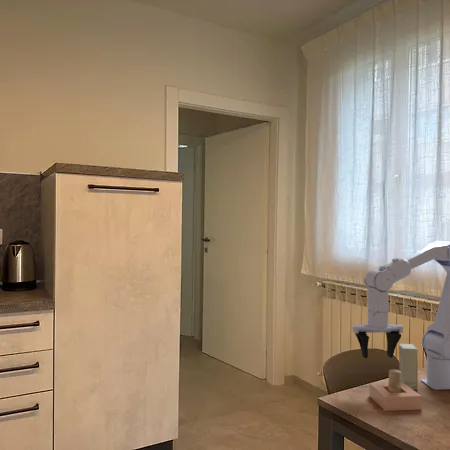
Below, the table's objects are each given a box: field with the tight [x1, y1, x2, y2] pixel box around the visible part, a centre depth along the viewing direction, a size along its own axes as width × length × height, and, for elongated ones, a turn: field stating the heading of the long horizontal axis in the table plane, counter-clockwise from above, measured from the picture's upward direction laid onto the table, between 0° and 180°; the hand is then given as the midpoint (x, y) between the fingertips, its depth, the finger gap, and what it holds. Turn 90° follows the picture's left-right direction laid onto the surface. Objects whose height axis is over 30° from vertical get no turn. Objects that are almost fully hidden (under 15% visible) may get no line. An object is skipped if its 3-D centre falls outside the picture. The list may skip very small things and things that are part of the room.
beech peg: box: [388, 369, 401, 393], centre depth 123 cm, size 3×3×8 cm
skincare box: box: [398, 343, 419, 391], centre depth 136 cm, size 6×4×12 cm
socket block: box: [369, 382, 423, 412], centre depth 123 cm, size 10×10×4 cm
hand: (377, 356), depth 132 cm, fingers open, 7 cm apart
